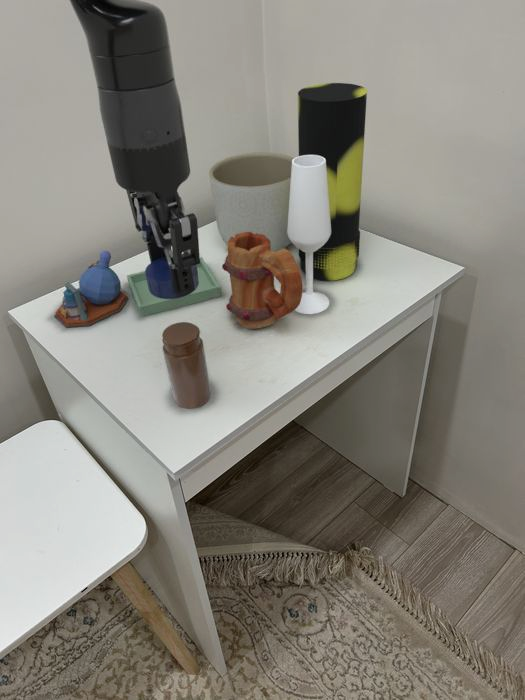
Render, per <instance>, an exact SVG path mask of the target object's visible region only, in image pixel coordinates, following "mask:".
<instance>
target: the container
mask: <svg viewBox="0 0 525 700" xmlns="http://www.w3.org/2000/svg"><path fill="white" fill-rule="evenodd" d="M367 98H368V90H367V88H366V87H364V86H362V85H359V84H354V83H347V82H346V83H344V82H329V83H326V82H325V83H317V84H313V85H309V86H306V87H303V88H301V89H300V90H298V91H297V130H298V131H297V133H298V134H297V135H298V157H299V156H303V155H318V156H321V157H324V158H325V160H326V170H327V183H328V196H329V209H330V221H331V235H330V237H329V239H328V241H327V242H326V243H325V244H324V245H323V246H322V247H320V248H319V249H318V250H317V251H315V252H313V280H318V281H323V282H324V281H325V282H331V281H333V282H334V281H339V280H343V279H345V278H348V277H349V276H351V275H353V274H354V272H356V270H357V267H358V266H357V265H358V258H359V255H360V243H361V242H360V239H361V231H360V217H361V199H362V197H361V196H362V183H363V182H362V181H363V165H364V150H365V149H364V148H365V133H366V116H367ZM298 257H299V262H300V263H299V264H300V265H299V266H300V267H299V268H300V271H301V272H302V273H303V274H304V275H306V252H303V251H302V250H300V249H299V248H298Z"/></svg>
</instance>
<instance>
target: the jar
mask: <svg viewBox="0 0 525 700" xmlns="http://www.w3.org/2000/svg"><path fill="white" fill-rule="evenodd" d="M200 334H201V330H200V328H199V327H198V326H197V325H196V324H194V323H193V322H187V321H179V322H175V323H173V324H170V325H169V326H167V327H166V328H165V329H164V330H163V331H162V334H161V335H162V339H161V341H162V344H163V345H162V352H163V356H164V362H165V366H166V370H167V374H168V379H169V383H170V387H171V392H172V397H173V402H174V403H175V405H176V406H178V407H180V408H182V409H187V410H188V409H189V410H193V409H198V408H200V407H202V406H205V405H206V404H207V403H208V402H209V400H210V399H211V397H212V388H211V384H210V377H209V370H208V365H207V359H206V358H207V357H206V351H205V347H204V340H203V339H202V338H201V336H200Z"/></svg>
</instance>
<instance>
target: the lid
mask: <svg viewBox="0 0 525 700" xmlns="http://www.w3.org/2000/svg"><path fill="white" fill-rule="evenodd" d="M191 270H192V276H193V283H194V291H195V290H196V288H197V287H198V284H199V280H198V272H197V266H196V265H195V266H192V267H191ZM144 271H145V275H146V279H147V284H148V288H149V291H150V293H151V294H152V295H153V296H155V297H158V298H162V299H176V298H181V297H184V296H187V295H189V294H190V293H189V294H186V295H184V296H181V297H178V296H177V295H176V294H175V293H174V290H173V284H172V279H171V274H170V268H169V265H168V261H167V258H166V257H163V258H160V259H157V260H155V261H153V262H150V263H149V264H148V265H147V266H146V267H145V270H144Z"/></svg>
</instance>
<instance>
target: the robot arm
mask: <svg viewBox="0 0 525 700" xmlns="http://www.w3.org/2000/svg"><path fill="white" fill-rule="evenodd" d="M69 2H70V4H71V7H72V9H73V11H74V13H75V16H76V17H77V20H78V22H79V24H80V26H81V28H82V31H83V33H84V36H85V39H86V43H87V47H88V52H89V55H90V59H91V64H92V67H93V68H92V69H93V74H94V77H95V82H96V88H97V92H98V93H97V94H98V102H99V111H100V117H101V122H102V126H103V130H104V134H105V139H106V144H107V147H108V152H109V156H110V161H111V166H112V170H113V173H114V178H115V182H116V183H117V185H118V186H119V187H121V188H122V189H124V190H125V191H126V195H127V198H128V202H129V207H130V210H131V213H132V218H133V220H134V224H135V225H134V227H135V229H136V230H137V232H138V233H140V232H141V238H142V240H143V242H144V243H146V247H147V251H148V255H149V261H150V263H151V262H153V261H155V260H157V259H160V258H163V257H166V258H167V261H168V265H169V268H170V274H171V279H172V284H173V290H174V293H175V294H176V295H177V296H178V297H181V296H184V295H186V294H189V293H192V292H193V291H194V283H193V276H192V270H191V267H192V266H195V265H198V264H200V258H201V257H200V244H199V228H198V226H199V225H198V218H197V216H196V214H195V213H193V212H191V213H188V214H185V211H186V209H185V205H184V202H183V200H182V197H181V196H180V195H179V192H178V189H179V188H180V186H181V185H182V184H183V183H185V182H186V181H188V178H190V175H191V167H190V166H191V165H190V159H189V151H188V143H187V137H186V130H185V123H184V122H185V121H184V115H183V108H182V102H181V98H180V94H179V91H178V88H177V87H178V86H177V83H176V78H175V72H174V64H173V57H172V51H171V50H172V49H171V44H170V37H169V35H170V34H169V30H168V29H169V28H168V25H167V24H168V23H167V20H166V16H165V14H164V12H163V11H162V10H161V8H159V6H157V5H155V4H153V3H150V2H147V1H143V0H69ZM168 234H170V237H169V238H165V237H167V236H166V235H168Z"/></svg>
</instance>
